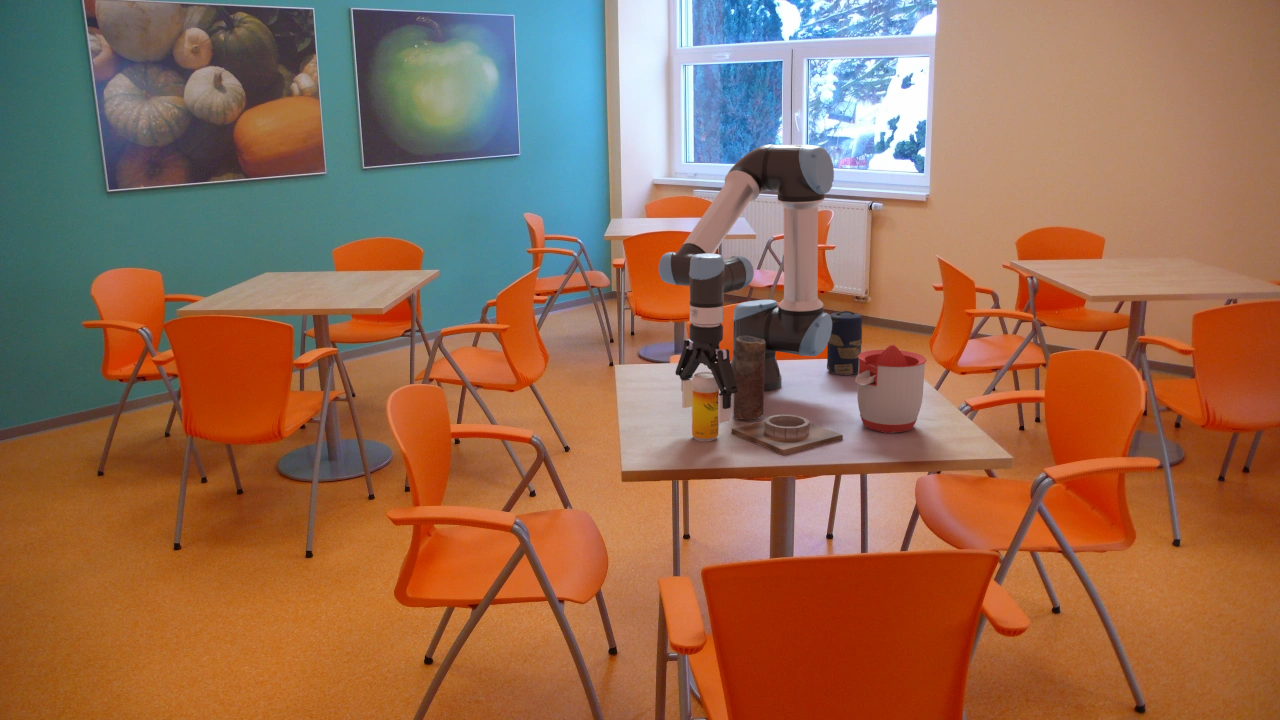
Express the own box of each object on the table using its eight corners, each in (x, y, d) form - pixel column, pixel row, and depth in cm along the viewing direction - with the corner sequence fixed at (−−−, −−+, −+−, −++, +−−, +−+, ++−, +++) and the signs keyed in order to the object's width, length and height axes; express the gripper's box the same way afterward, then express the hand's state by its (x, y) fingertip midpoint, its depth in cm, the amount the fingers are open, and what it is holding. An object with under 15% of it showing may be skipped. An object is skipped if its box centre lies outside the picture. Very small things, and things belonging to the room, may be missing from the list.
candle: (747, 411, 248) (748, 333, 243) (770, 417, 243) (772, 338, 238) (727, 417, 242) (728, 338, 237) (750, 424, 237) (752, 343, 232)
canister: (863, 376, 278) (866, 314, 273) (829, 377, 278) (832, 314, 273) (856, 368, 287) (859, 307, 282) (823, 368, 287) (826, 307, 283)
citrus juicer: (835, 423, 237) (838, 342, 232) (889, 412, 246) (893, 334, 241) (880, 442, 224) (885, 356, 219) (936, 429, 232) (942, 347, 227)
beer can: (716, 442, 225) (717, 379, 221) (690, 441, 226) (690, 378, 222) (719, 434, 230) (720, 372, 227) (694, 432, 232) (694, 371, 228)
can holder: (731, 433, 231) (731, 418, 230) (789, 419, 241) (789, 405, 240) (783, 455, 216) (783, 439, 216) (842, 439, 226) (843, 424, 225)
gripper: (660, 316, 229) (660, 403, 235) (727, 336, 209) (726, 431, 215) (686, 312, 233) (686, 398, 239) (755, 331, 213) (753, 425, 219)
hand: (705, 414), depth 227 cm, fingers open, 13 cm apart
